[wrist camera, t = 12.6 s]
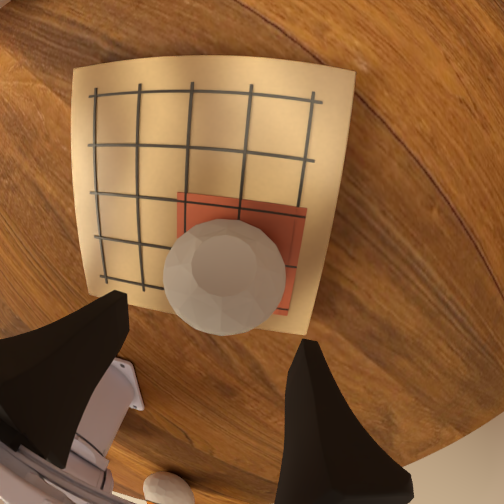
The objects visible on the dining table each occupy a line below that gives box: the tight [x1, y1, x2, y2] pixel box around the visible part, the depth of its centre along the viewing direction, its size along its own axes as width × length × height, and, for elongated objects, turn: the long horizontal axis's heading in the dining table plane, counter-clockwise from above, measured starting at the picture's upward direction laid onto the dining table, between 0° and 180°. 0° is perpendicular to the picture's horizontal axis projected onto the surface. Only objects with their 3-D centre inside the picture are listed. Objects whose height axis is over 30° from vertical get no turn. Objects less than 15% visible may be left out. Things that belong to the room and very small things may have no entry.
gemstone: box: [163, 219, 286, 336], centre depth 16 cm, size 6×6×5 cm
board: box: [71, 55, 356, 335], centre depth 17 cm, size 16×16×2 cm
